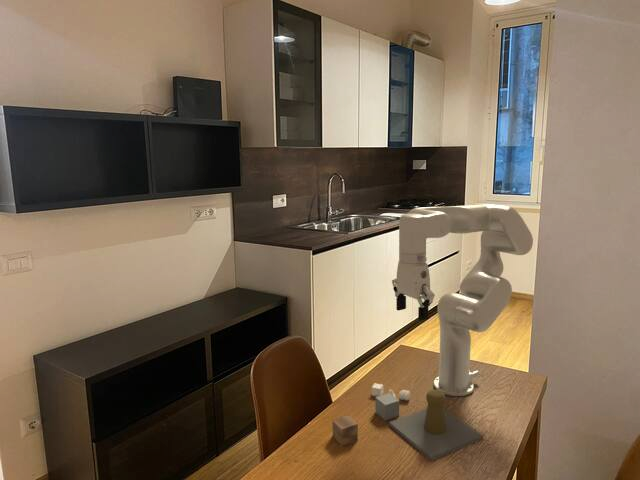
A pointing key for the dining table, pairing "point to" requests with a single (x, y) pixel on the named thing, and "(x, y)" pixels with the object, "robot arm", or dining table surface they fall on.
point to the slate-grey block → (387, 406)
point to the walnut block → (345, 430)
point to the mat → (435, 444)
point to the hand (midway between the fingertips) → (411, 314)
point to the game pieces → (378, 391)
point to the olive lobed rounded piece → (435, 413)
